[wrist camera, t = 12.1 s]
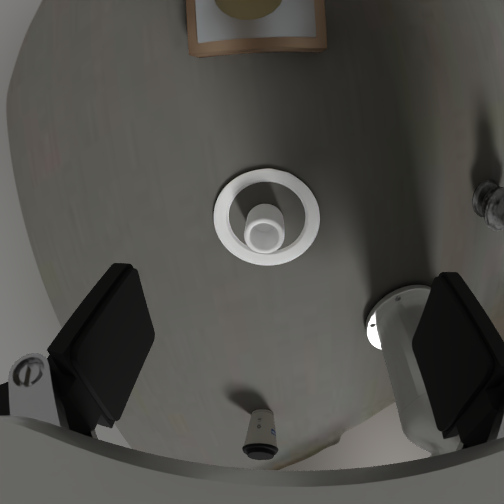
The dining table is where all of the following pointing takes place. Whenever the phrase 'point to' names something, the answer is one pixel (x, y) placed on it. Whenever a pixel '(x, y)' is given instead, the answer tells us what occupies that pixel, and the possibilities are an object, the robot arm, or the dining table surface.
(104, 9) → the dining table surface
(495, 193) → the dark grey tiered figure
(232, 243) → the candle holder
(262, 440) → the coffee cup
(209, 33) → the wooden framed mirror
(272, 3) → the cork
